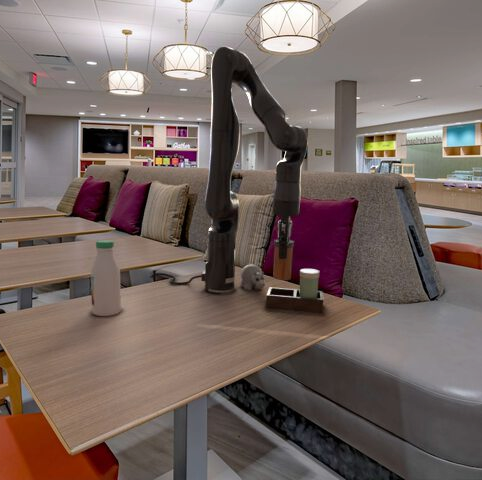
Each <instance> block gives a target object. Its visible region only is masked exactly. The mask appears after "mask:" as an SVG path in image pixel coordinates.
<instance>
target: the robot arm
mask: <svg viewBox="0 0 482 480" xmlns="http://www.w3.org/2000/svg"><path fill="white" fill-rule="evenodd" d="M210 67H211V68H210V75H211V77H210V78H211V123H210V135H209V136H210V137H209V158H208V159H209V161H208V179H207V185H206V191H205V197H204V209H205V212H206V214H207V216H208V217H209V218H211V223H210V226H209V228H208V230H207V244H206V245H207V249H206V250H207V252H206V254H207V255H206V262H205V266H204V267H205V268H204V270H203V272H202V273H201V274H199V275H194V276H191V278H189V280H188V281H182V282H177V281H175V280H176V276H175V275H171V274H168V273H164V272H157V273H156V272H155V273H153V274H152V275H150V278H151V279H152V278H154V277H156V276H165V277H168V278H171V279H170V280H169V283H170V284H172V285H179V286H180V285H187V284H190V283H191V282H192V281H193V280H195V279H200V278H201V280H200V281H201V282H204V291H205V292H207V293H211V294H217V295H221V294H227V293H232V292H234V291H235V277H236V242H237V240H236V239H237V232H238V229H239V219H240V218H239V216H240V203H239V202H240V201H239V198H238V196H237V195H236V193H234V191H232V190H231V188H232V187H231V186H232V185H231V183H232V174H233V170H234V166H235V164H236V161H237V158H238V154H239V150H240V144H241V143H240V142H241V122H240V120H239V116H238V114H237V111H236V107H235V105H234V101H233V94H232V89H233V84H235V85H237V86H238V87H239V88H240V89H242V91H243V92H244V93H245V94H246V96H247V98H248V101H249V106H250V108H251V110H252V113H253V114H254V115H255V118H257V119H258V121H259V122H260V123H261V124H262V125H263V127H264V128H265V132H266V133H267V136H268V138H269V140H270V143H271V144H272V145H273V147H275V148H276V149H277V150H278V151H281V152H285V153H284V156H283V159H282V160H279V161H278V162H276V166H275V179H274V187H273V198H272V199H273V201H272V214H273V215H275V216H280V220H278V221H277V228H278V229H277V238H278V239H279V241H278V244H279V258H280V259H286V257H287V246H288V240H291V236H292V235H291V234H292V228H293V220H292V218H291V217H297V216H299V215H300V206H301V177H302V166H303V163H304V160H305V157H306V153H307V151H308V143H309V138H308V134H307V132H306V130H305V129H304V128H303V127H301V126H299V125H298V126H296V125H290V124H289V123H288V122H287V113H286V112H285V111H286V110H284V108H283V107H282V106H281V105H280V104H279V102H278V101H277V100H276V99H275V97H274V96H273V95H272V94H271V93H270V91H269V90H268V89H267V87H266V86H265V84H264V83H263V81H262V80H261V78H260V76H259V74H258V73H257V71H256V68H255V67H254V66H253V63H252V62H251V59H250V58H249V57H248V56H247V55H246V53H244V52H242V51H240V50H237V49H233V48H231V47H229V46H220V47H218V48H217V49H216V50H215V52H214V53H213V56H212V58H211V65H210ZM281 239H285V240H281Z"/></svg>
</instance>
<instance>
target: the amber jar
mask: <svg viewBox="0 0 482 480" xmlns="http://www.w3.org/2000/svg"><path fill="white" fill-rule="evenodd" d="M281 240H285V239H281ZM273 241H274V242H273V246H274V252H273V253H274V254H273V273H272V278H273V279H275V280H279V281H290V280H291V279H292V270H293V269H292V268H293V253H294V247H295V241H294V240H292V239H290V240H288V246H287V257H286V259H280V258H279V244H278V241H279V238H277V239H274V240H273Z"/></svg>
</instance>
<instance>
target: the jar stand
mask: <svg viewBox="0 0 482 480" xmlns="http://www.w3.org/2000/svg"><path fill="white" fill-rule="evenodd" d="M299 291H300V289H297V288H282V287H271V286H269V287H268V291H267V293H266V298H265V309H266V310H275V311H288V312H298V313H299V312H300V313H310V314H321V315H323V313H324V311H323V310H324V292H323V291H322V290H318V294H317V299H316V298H304V297H299Z"/></svg>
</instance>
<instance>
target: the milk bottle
mask: <svg viewBox="0 0 482 480" xmlns="http://www.w3.org/2000/svg"><path fill="white" fill-rule="evenodd" d="M114 243H115V242H114V241H113V240H110V239H103V240H102V239H101V240H96V242H95V250H96V256H95V259H94V261H93V263H92V266H91V269H90V292H91V293H90V294H91V311H92V312H91V313H92V314H93V315H95V316H97V317H98V316H99V317H109V316H114V315H116V314H119V313H120V312H121V310H122V295H121V291H122V289H121V270H120V265H119V264H118V261H117V260H116V257H115V254H114V249H115V248H114V246H115V244H114Z"/></svg>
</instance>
